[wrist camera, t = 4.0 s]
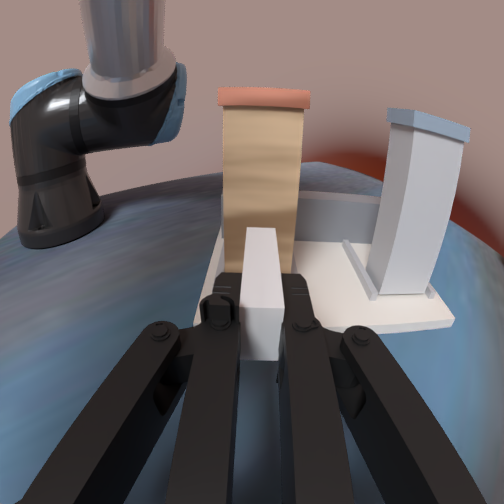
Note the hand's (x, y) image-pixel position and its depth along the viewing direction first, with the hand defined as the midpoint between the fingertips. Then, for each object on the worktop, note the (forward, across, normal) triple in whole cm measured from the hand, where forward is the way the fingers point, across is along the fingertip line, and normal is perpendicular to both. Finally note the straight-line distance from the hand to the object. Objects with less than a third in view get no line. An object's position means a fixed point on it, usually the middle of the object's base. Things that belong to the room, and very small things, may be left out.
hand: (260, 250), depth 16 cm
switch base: (+10, +6, -8) cm, 14 cm away
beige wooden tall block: (+7, 0, -6) cm, 9 cm away
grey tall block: (+7, +13, -6) cm, 16 cm away
